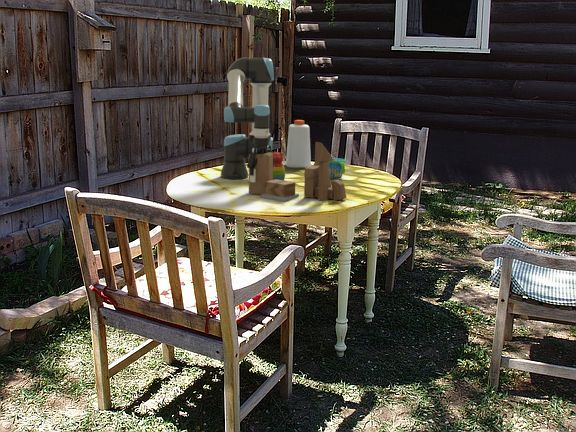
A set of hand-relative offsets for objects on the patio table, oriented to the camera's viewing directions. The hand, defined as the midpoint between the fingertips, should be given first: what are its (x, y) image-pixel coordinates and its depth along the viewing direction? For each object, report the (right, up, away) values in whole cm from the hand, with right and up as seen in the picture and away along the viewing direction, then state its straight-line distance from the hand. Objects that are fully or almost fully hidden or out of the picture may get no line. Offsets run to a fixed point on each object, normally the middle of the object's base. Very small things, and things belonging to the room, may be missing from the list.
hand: (260, 180), depth 330 cm
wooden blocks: (+33, -9, -4) cm, 34 cm away
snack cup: (+40, +4, +48) cm, 63 cm away
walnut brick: (+10, -7, -7) cm, 14 cm away
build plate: (+10, -9, -7) cm, 15 cm away
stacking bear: (+7, -2, +20) cm, 22 cm away
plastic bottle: (+20, +13, +82) cm, 85 cm away
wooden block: (0, -6, +2) cm, 7 cm away
